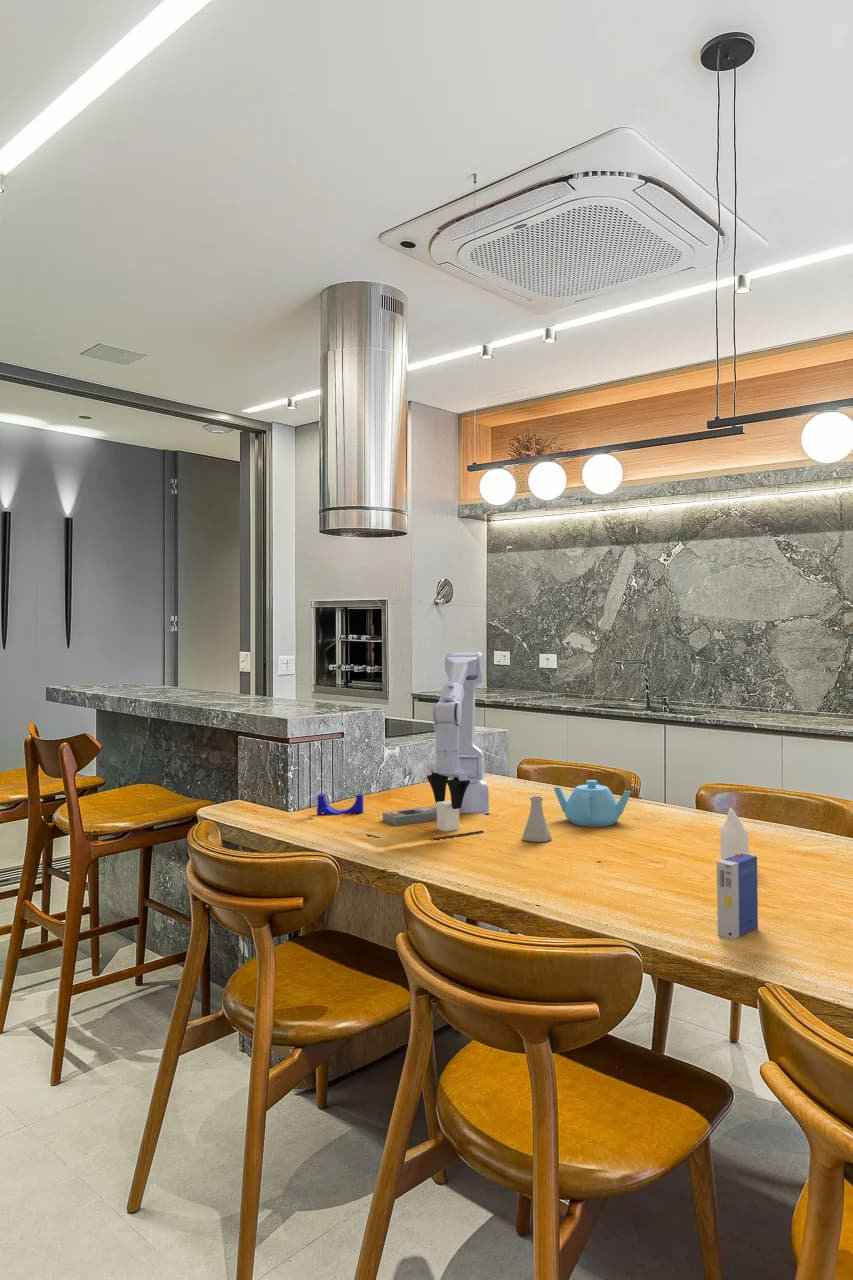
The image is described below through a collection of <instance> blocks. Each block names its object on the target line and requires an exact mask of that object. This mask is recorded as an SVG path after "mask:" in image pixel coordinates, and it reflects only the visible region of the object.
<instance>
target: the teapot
mask: <svg viewBox="0 0 853 1280" xmlns="http://www.w3.org/2000/svg"><path fill="white" fill-rule="evenodd" d="M585 782H586V784H579V785H577V786H576V787H574V789H573V790H572V792H571V794H570V795H569V797H568V798H567V795H566V794H565V793H564V792H563V790H562V788H561V786H554V787H553V791H554V792H555V794H556V797H557V800H558V802H559V805H560V808H561V810H562V812H563V813H564V815H565V817H566V820H568V821H569V822H570V823H571V824H573V825H576V826H581V827H590V828H591V827H593V828H594V827H595V828H597V827H609V826H613V825H614V824H615V823H616V822H618V820H619V819H620V817H621V816H622V814H623V813H624V810H625V808H626V805H627V803H628V801H629V799H630V796H631V795H632V794H631V793H632V791H631V790H624V791H623V793H622V795H621V797H620V798H619V800H618V802H617V800H616V798H615V796H614V794H613V792H612V791H611V790H610V788H609V787H608V786H606V785H601V784H600V783H598V780H596V779H587V780H586V781H585Z"/></svg>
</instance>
